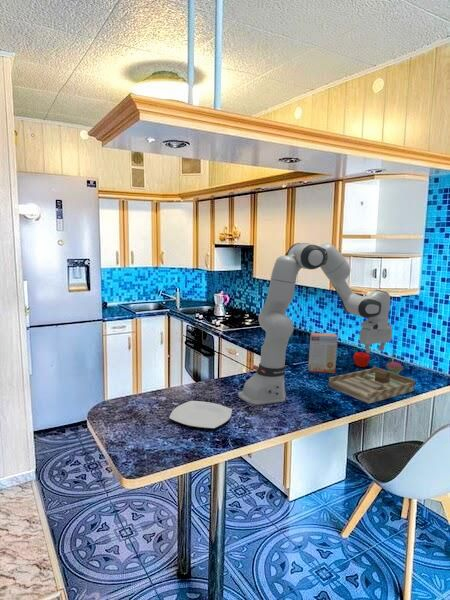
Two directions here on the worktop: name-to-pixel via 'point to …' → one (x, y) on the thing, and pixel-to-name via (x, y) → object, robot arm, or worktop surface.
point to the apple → (361, 359)
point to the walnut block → (382, 376)
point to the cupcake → (394, 367)
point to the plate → (201, 414)
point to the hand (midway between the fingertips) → (374, 351)
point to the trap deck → (371, 385)
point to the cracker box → (322, 352)
